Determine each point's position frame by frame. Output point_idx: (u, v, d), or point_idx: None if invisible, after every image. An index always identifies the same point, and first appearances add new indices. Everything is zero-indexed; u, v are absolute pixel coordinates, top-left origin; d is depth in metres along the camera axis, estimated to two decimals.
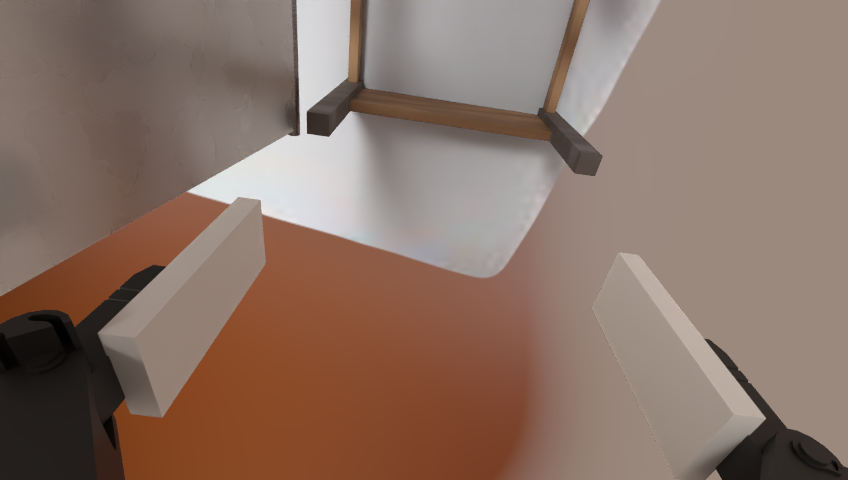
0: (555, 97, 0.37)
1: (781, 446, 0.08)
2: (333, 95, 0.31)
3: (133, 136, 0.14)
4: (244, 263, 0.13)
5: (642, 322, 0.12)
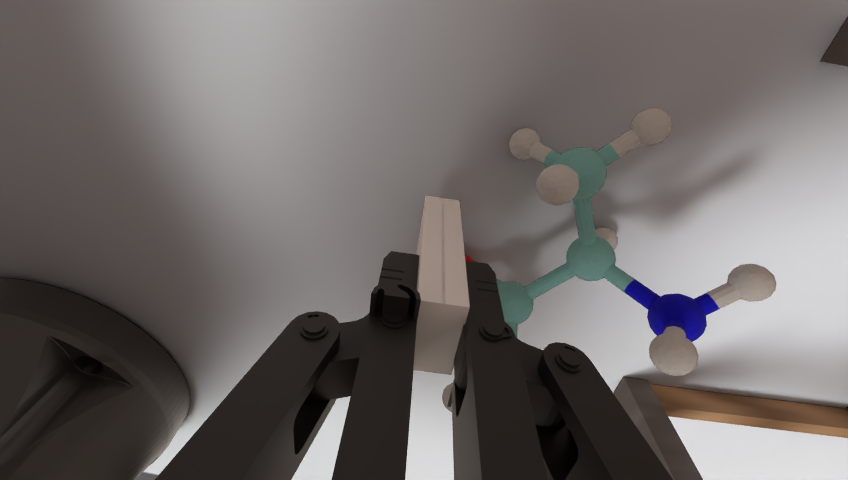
0: None
1: (473, 336, 0.10)
2: None
3: None
4: None
5: None
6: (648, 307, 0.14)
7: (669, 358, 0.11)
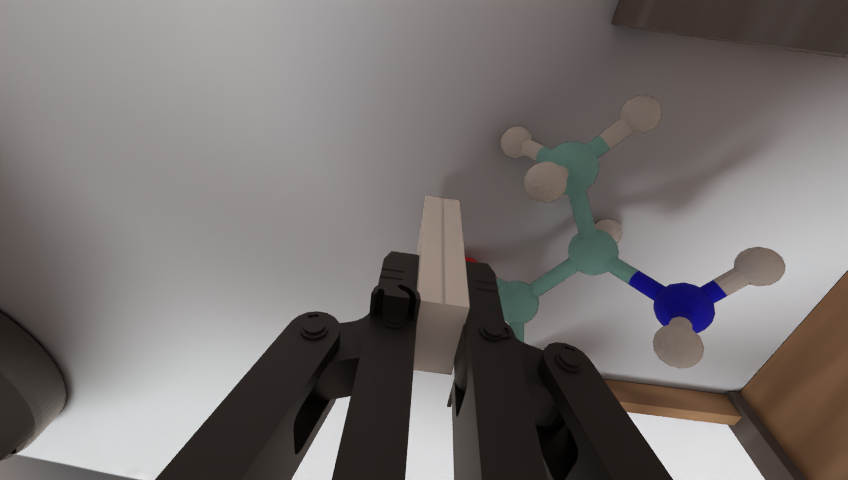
0: None
1: (473, 337, 0.10)
2: None
3: None
4: None
5: None
6: (654, 298, 0.14)
7: (672, 351, 0.11)
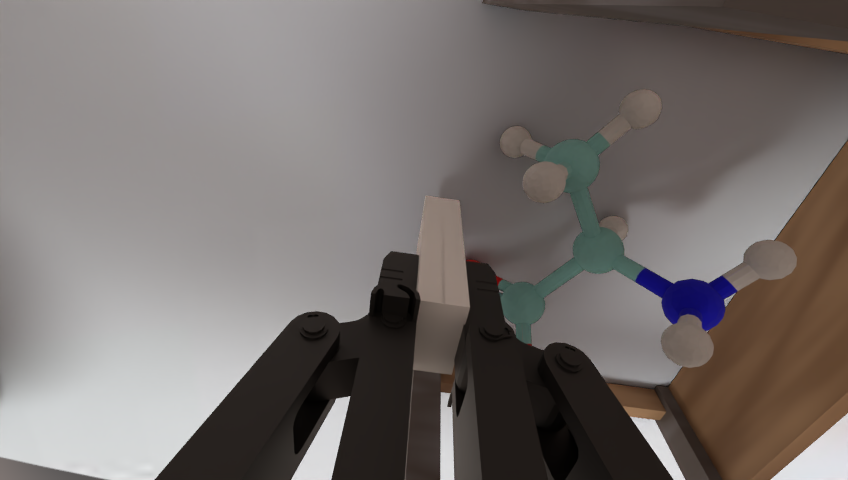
0: None
1: (473, 336, 0.10)
2: None
3: None
4: None
5: None
6: (661, 296, 0.13)
7: (681, 350, 0.10)
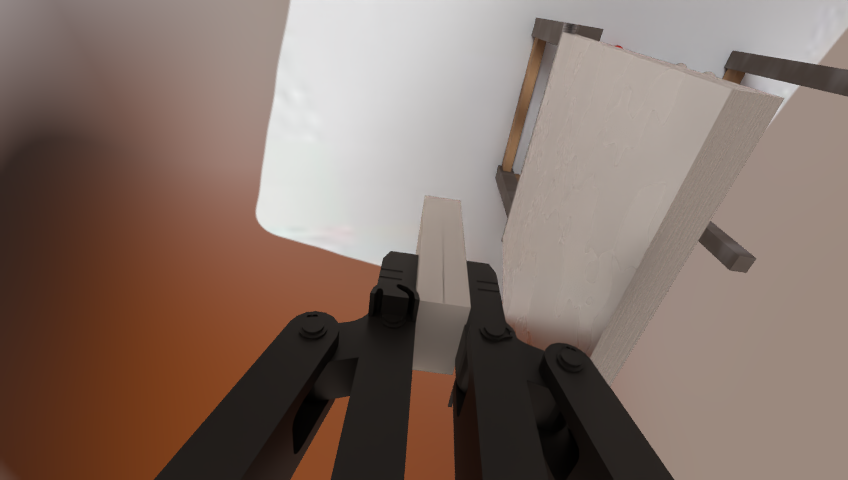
0: None
1: (474, 337, 0.10)
2: (513, 195, 0.37)
3: None
4: None
5: None
6: None
7: None
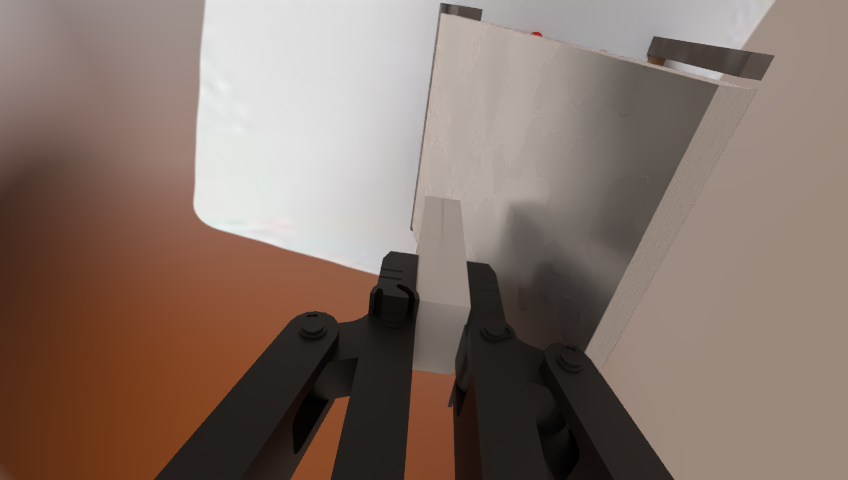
0: None
1: (474, 337, 0.10)
2: None
3: None
4: None
5: None
6: None
7: None
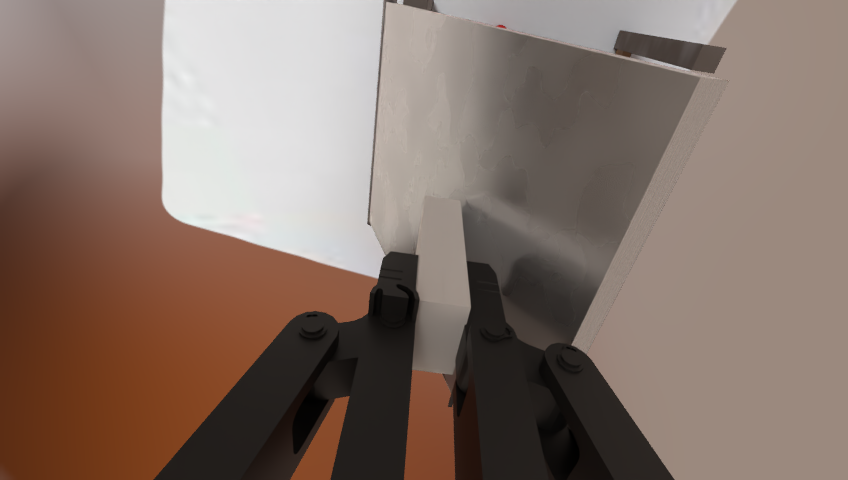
0: None
1: (474, 337, 0.10)
2: None
3: None
4: None
5: None
6: None
7: None
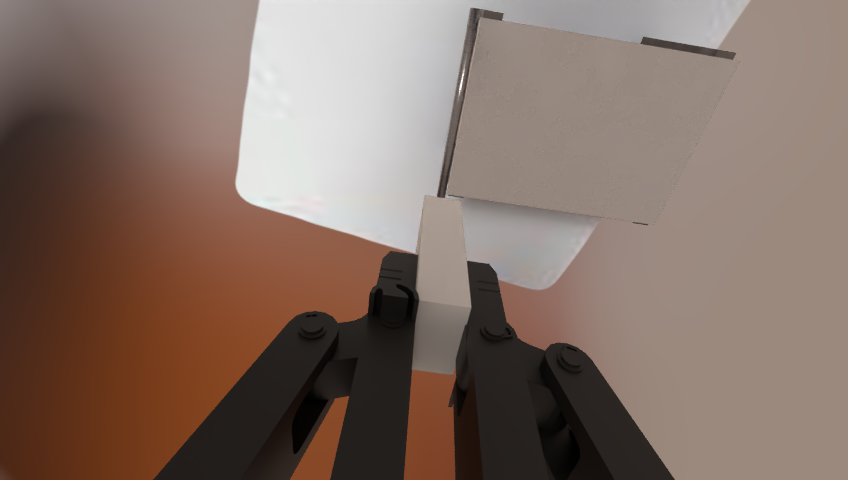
0: None
1: (475, 337, 0.10)
2: None
3: None
4: None
5: None
6: None
7: None
